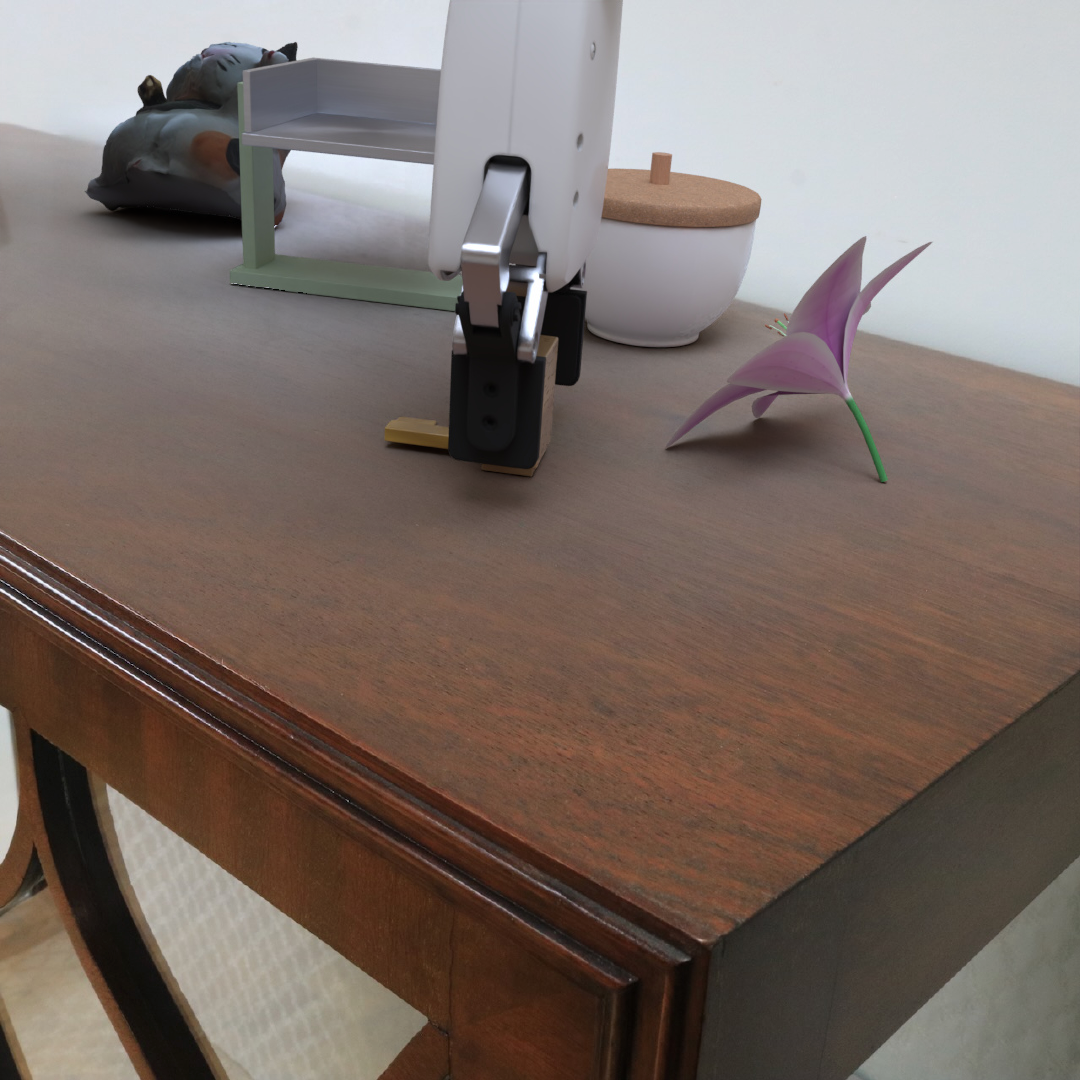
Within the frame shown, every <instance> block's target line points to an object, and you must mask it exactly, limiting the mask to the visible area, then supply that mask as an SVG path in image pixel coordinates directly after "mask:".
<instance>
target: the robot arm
mask: <svg viewBox="0 0 1080 1080" xmlns="http://www.w3.org/2000/svg"><path fill="white" fill-rule="evenodd" d="M448 3H449V4H448V10H447V15H446V24H445V33H444V39H443V48H442V57H441V66H440V69H441V76H440V87H439V98H438V111H437V124H436V138H435V153H434V165H433V170H432V182H431V183H432V184H431V185H432V186H431V197H430V198H431V199H430V212H429V213H430V214H429V228H428V229H429V230H428V244H427V245H428V246H427V265H428V268H429V269H430V272H432V273H433V274H434V275H435V276H436V277H437V278H438V279H439V280H442V281H450V280H452V279H453V278H454V277H455V276H457V275H459V274H460V273H461V276H462V281H463V285H462V290H461V295H460V296H457V300H458V303H456V305H455V311H454V312H455V315H456V316H455V321H454V326H453V330H452V331H453V332H452V340H451V342H452V343H451V346H452V349H451V357H450V359H451V360H450V361H451V362H450V380H449V381H450V382H449V383H450V384H449V385H450V387H449V409H448V410H449V411H448V412H449V413H448V427H449V437H448V449H447V450H448V451H447V452H448V454H449V456H450V457H451V458H452V459H453V460H454V461H459V462H466V463H475V464H481V465H482V464H489V465H496V466H504V467H512V468H520V469H530V468H532V467H534V466H535V464H536V462H537V460H538V458H539V452H540V438H541V424H542V410H543V396H544V382H545V367H546V357H542V356H537V352H538V346H539V341H540V335H545V336H553V337H557V338H558V351H557V364H556V377H555V386H563V387H572V386H575V385H576V384H577V383H578V381H579V379H580V377H581V370H582V357H583V345H584V344H583V343H584V334H585V322H586V320H585V310H586V298H587V291H582V290H573V289H570V287H572V288H583V286H584V281H585V274H586V259H587V257H588V256H589V254H590V253H591V251H592V250H593V248H594V246H595V244H596V241H597V237H598V233H599V229H600V223H601V217H602V210H603V203H604V196H605V188H606V181H607V173H608V169H609V165H610V164H609V163H610V155H611V145H612V135H613V128H614V127H613V126H614V115H615V114H614V113H615V104H616V103H615V102H616V92H617V84H618V83H617V82H618V70H619V60H620V59H619V58H620V47H621V46H620V45H621V32H622V20H623V19H622V17H623V4H624V0H449V1H448Z"/></svg>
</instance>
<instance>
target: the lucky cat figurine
mask: <svg viewBox="0 0 1080 1080" xmlns="http://www.w3.org/2000/svg"><path fill="white" fill-rule="evenodd" d="M298 49H299V47H298V42H297V41H294V42H288V43H286V44H285V45H284V46H281V47H280V48H278V49H276V50H275V49H274V50H273V49H271V50H268V49H267V48H264V47H261V46H258V45H257V46H256V45H253V44H250V43H242V42H231V41H225V42H219V43H212V44H211V43H210V45H209V46H208V47H206V48H204V49H202V50H201V52H200V53H196V54H195V55H193V56H192V57H191V58H190V60H187V61H186V62H185V63H184V64H182V65H180V66H179V67H178V68H177V69H176V71H175V72H174V74H173V76H172V79H171V80H170V82H169V83H168V85H167V87H166V90H165V93H164V89H163V86H162V82H161V80H160V79H158V78H157V77H155V76H154V75H152V74H148V75H146V76H145V78H144V79H143V81H142V82H141V83H140V84H139V85H138V87H137V94H138V97H139V99H140V100H141V103H142V104H143V105H142V107H140V108H139V109H138V110H136V112H135V114H134V116H132V117H130V118H127V119H126V120H124V121H122V122H120V123H119V124H118V125H116V126H114V128H113V129H112V131H111V132H110V134H109V136H108V137H107V139H106V140H105V144H104V146H103V149H102V159H101V161H102V162H101V173H100V174H99V176H97V177H95V178H92V179H91V180H90V181H89V182H88V184H87V189H86V190H84V193H85V194H86V195H87V196H88V197H89V198H90V199H91V200H93V201H98V202H99V203H101V204H102V205H103V206H104V207H105V208H106V209H107V210H108V211H111V212H115V211H116V210H119V209H140V208H141V209H145V208H155V209H164V210H171V211H179V212H187V213H194V214H204V215H211V216H217V217H218V216H220V217H226V218H227V217H228V218H234V219H236V220H240V221H242V210H241V180H240V149H239V118H238V88H237V83H239V82H243V70H249V69H254V68H259V67H265V66H270V65H276V64H281V63H286V62H292V61H297V55H298ZM291 151H292V150H286V149H276V148H273V187H274V226H275V225H278V226H279V225H280V224H281V222H282V221H283V219H284V216H285V212H286V207H287V200H286V199H287V195H286V181H285V179H284V175H283V168H284V165H285V162H286V160H287V157H288V156H289V154H290V153H291Z"/></svg>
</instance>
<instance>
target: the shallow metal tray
mask: <svg viewBox="0 0 1080 1080" xmlns="http://www.w3.org/2000/svg"><path fill="white" fill-rule="evenodd" d="M296 60H297V59H296ZM440 76H441V68H431V67H430V68H429V67H421V66H419V67H418V66H409V65H398V64H388V63H377V62H376V63H375V62H367V61H366V62H365V61H354V60H344V59H336V58H335V59H334V58H323V57H322V58H321V57H308V58H303V59H298V60H297V61H292V62H286V63H281V64H276V65H270V66H265V67H259V68H254V69H249V70H243V96H244V128H245V133H242V145H247V146H257V147H267V148H276V149H286V150H291V151H297V152H307V153H316V154H325V155H334V156H335V155H336V156H344V157H345V156H346V157H353V158H364V159H374V160H384V161H393V162H402V163H403V162H404V163H412V164H413V163H414V164H421V165H422V164H423V165H431V166H432V165H433V166H434V153H435V138H436V124H437V111H438V98H439V87H440Z"/></svg>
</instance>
